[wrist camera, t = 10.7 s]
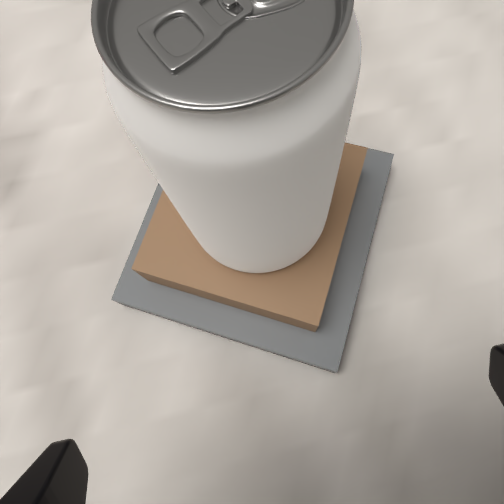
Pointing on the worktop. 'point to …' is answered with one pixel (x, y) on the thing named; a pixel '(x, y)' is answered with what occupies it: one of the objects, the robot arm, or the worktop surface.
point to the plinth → (265, 329)
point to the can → (236, 113)
